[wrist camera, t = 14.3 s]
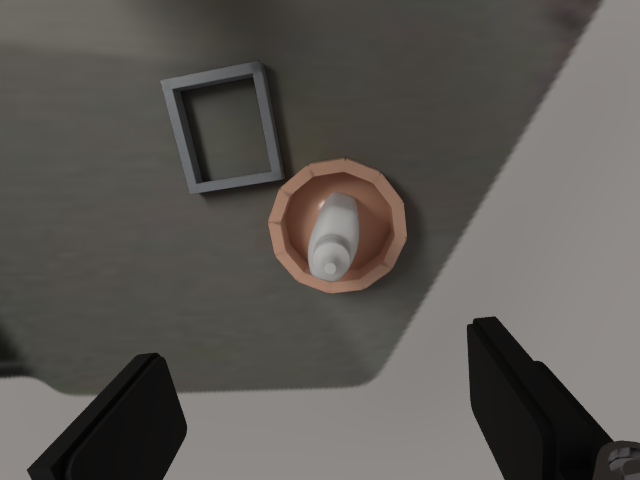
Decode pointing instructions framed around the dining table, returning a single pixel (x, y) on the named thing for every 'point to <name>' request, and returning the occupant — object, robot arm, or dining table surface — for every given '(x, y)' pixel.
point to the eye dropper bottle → (334, 237)
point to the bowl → (373, 213)
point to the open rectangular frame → (184, 135)
